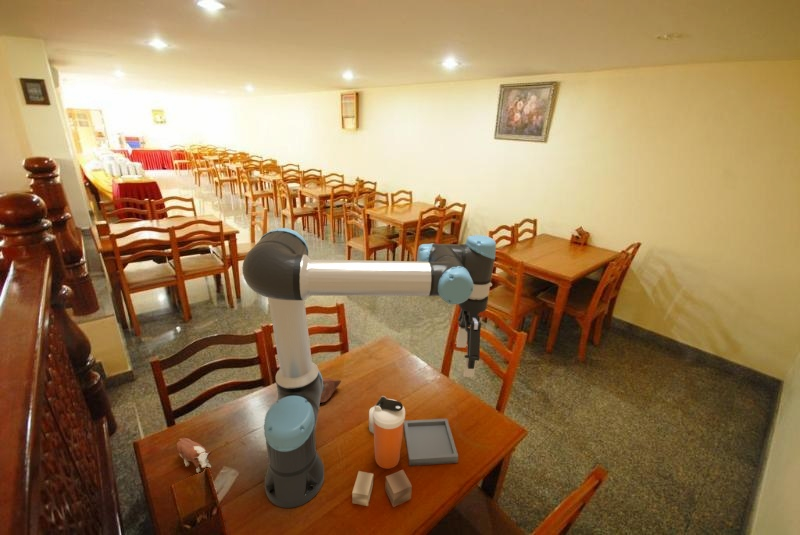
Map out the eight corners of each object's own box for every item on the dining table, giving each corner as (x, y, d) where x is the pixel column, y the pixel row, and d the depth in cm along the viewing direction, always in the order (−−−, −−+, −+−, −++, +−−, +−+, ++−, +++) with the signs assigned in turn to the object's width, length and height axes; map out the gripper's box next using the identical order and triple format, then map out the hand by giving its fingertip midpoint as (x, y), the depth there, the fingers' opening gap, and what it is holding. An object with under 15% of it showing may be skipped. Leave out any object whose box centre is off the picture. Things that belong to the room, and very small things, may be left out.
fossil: (342, 377, 128) (332, 367, 120) (346, 400, 122) (335, 391, 115) (310, 389, 128) (297, 380, 120) (312, 412, 123) (299, 404, 115)
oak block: (352, 503, 89) (352, 492, 87) (358, 481, 94) (358, 471, 93) (367, 506, 88) (367, 495, 87) (373, 484, 94) (373, 473, 92)
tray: (409, 465, 99) (409, 459, 98) (403, 426, 112) (403, 420, 111) (457, 462, 101) (458, 456, 100) (446, 424, 114) (447, 418, 113)
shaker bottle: (399, 475, 96) (402, 419, 89) (368, 468, 98) (368, 412, 91) (405, 448, 105) (408, 395, 97) (376, 442, 106) (377, 389, 99)
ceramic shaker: (369, 433, 109) (369, 416, 106) (368, 423, 113) (369, 406, 110) (382, 433, 109) (382, 415, 107) (381, 423, 113) (381, 406, 111)
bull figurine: (204, 485, 91) (199, 462, 88) (176, 460, 98) (171, 438, 95) (220, 472, 95) (215, 450, 92) (192, 449, 101) (187, 427, 98)
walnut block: (393, 507, 88) (393, 493, 86) (385, 490, 92) (385, 476, 91) (410, 499, 90) (411, 485, 89) (402, 482, 95) (403, 469, 93)
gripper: (499, 318, 81) (486, 391, 89) (479, 276, 104) (470, 337, 112) (467, 316, 81) (457, 389, 89) (453, 274, 104) (446, 335, 112)
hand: (464, 360), depth 101 cm, fingers open, 13 cm apart
